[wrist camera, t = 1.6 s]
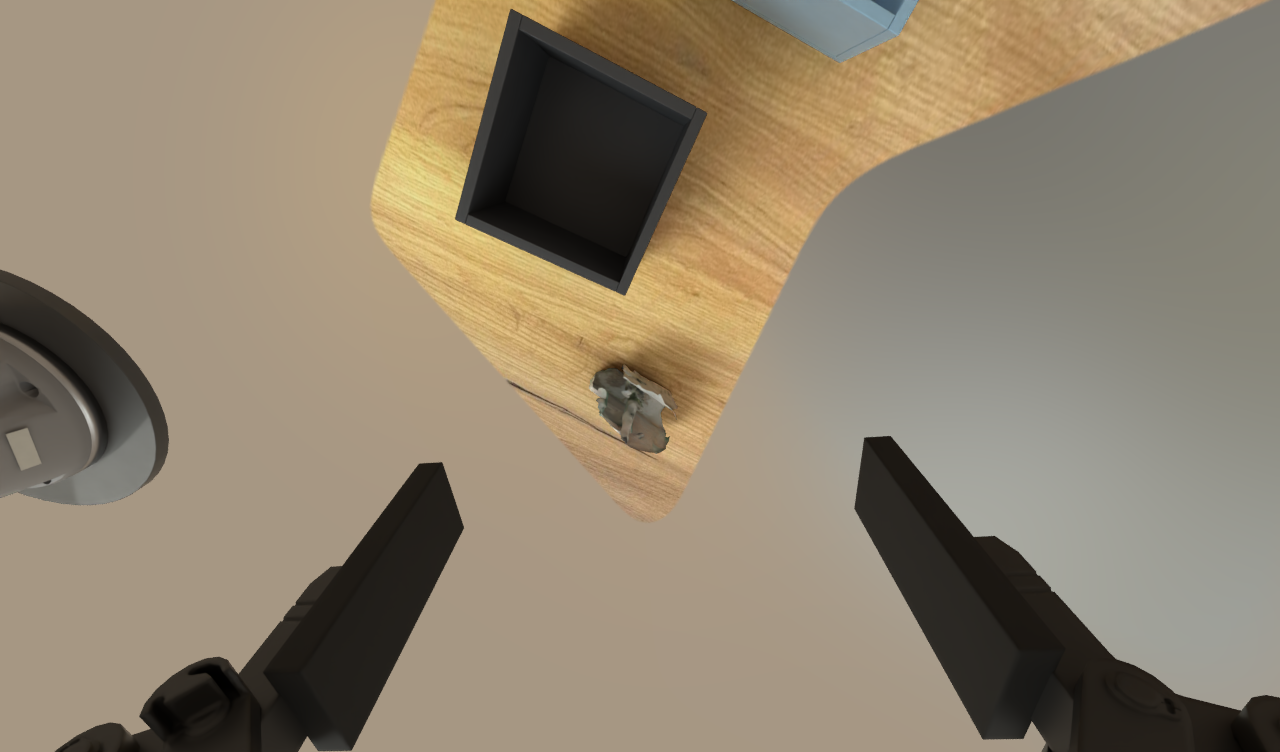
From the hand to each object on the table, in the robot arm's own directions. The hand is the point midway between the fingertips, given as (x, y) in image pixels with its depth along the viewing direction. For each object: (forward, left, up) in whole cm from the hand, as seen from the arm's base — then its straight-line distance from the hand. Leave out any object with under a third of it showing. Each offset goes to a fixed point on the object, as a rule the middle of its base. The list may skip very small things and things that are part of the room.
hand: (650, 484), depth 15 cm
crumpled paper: (+3, -8, -22) cm, 24 cm away
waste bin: (-7, +6, -22) cm, 24 cm away
